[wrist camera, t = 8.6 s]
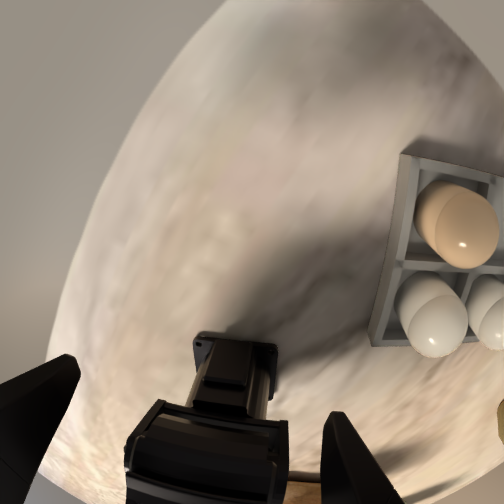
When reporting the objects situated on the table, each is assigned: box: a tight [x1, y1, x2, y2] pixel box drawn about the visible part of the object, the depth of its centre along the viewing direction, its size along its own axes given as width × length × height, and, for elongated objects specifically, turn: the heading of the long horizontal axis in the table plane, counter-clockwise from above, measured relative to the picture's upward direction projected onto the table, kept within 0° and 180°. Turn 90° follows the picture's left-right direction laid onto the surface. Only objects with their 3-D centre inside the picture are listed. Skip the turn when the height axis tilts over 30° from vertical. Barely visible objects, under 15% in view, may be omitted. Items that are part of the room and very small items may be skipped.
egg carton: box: [367, 154, 504, 347], centre depth 16 cm, size 13×13×2 cm
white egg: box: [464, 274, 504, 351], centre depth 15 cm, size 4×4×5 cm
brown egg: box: [413, 180, 500, 269], centre depth 13 cm, size 4×4×5 cm
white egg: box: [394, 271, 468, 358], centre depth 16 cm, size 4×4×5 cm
